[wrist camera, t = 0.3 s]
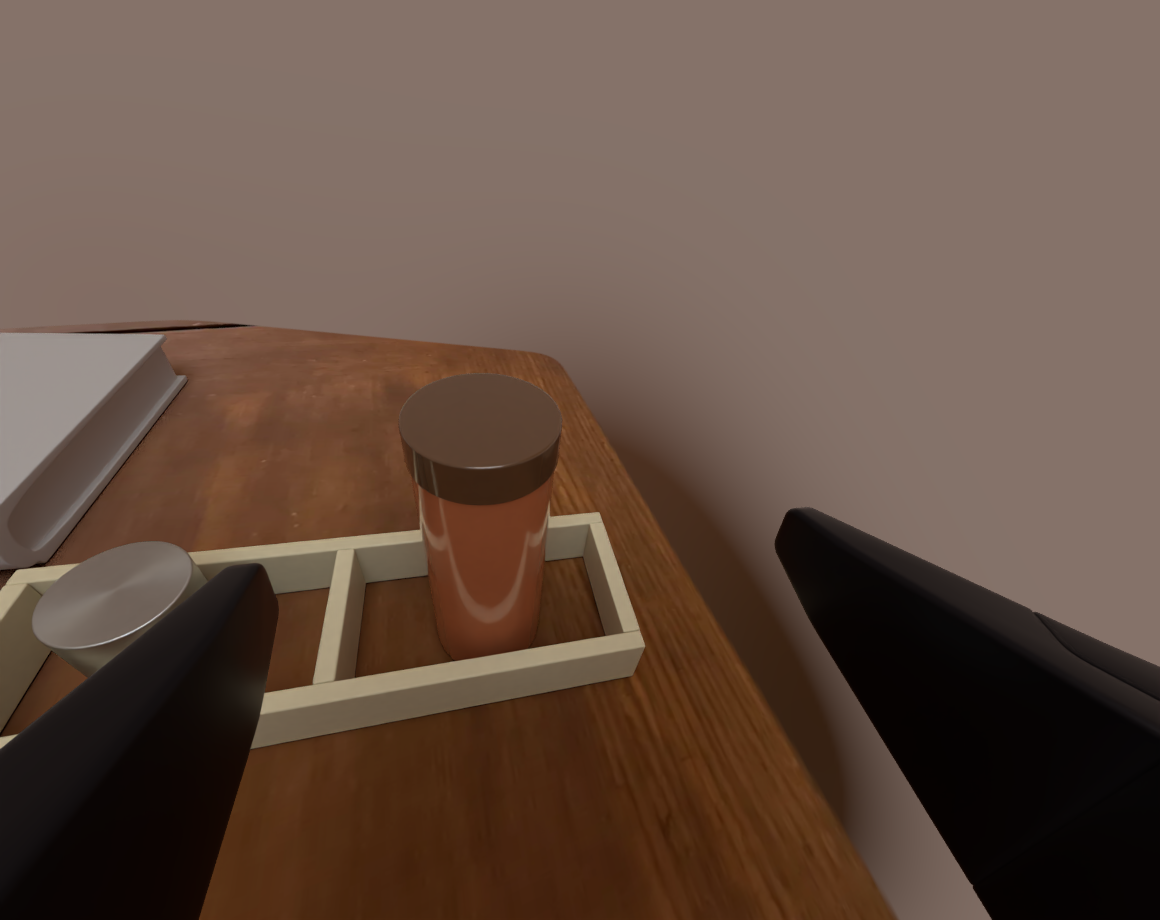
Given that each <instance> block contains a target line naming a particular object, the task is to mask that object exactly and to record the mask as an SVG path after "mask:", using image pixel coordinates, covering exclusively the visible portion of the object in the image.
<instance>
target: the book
mask: <svg viewBox="0 0 1160 920" xmlns="http://www.w3.org/2000/svg"><path fill="white" fill-rule="evenodd" d="M166 340H167V338H166V336H165V335H151V334H64V333H0V570H5V569H18V568H28V567H31V566H33V565H34V564H38V563H45V562H47V561H48V560H49V558H50V557H51V556H52V555H53V553H54V552H55V551H56V550H57V548H58V547H59V546H60V545H61V543H62V542H63V541H64V539H65V538H66V537H67V536H68V534H69V533H70V532H71V530H72V529H73V528H74V527H75V525H76V524H77V523H78V521H79V520H80V519H81V517H82V516H83V515H84V514H85V512H86V511H87V510H88V508H89V507H90V506H91V505H92V503H93V502H94V501H95V499H96V498H97V497H98V496H99V494H100V493H101V492H102V490H103V489H104V488H105V486H106V485H107V484H108V483H109V481H110V480H111V479H112V477H113V476H114V475H115V474H116V472H117V471H118V470H119V468H120V467H121V466H122V465H123V463H124V462H125V461H126V459H127V458H128V457H129V455H130V454H131V453H132V452H133V450H134V449H135V448H136V446H137V445H138V444H139V443H140V441H141V440H142V439H143V437H144V436H145V435H146V434H147V432H148V431H149V430H150V428H151V427H152V426H153V424H154V423H155V422H156V421H157V419H158V418H159V417H160V415H161V414H162V413H163V412H164V410H165V409H166V408H167V406H168V405H169V404H170V403H171V401H172V400H173V399H174V397H175V396H176V395H177V393H178V392H179V391H180V390H181V388H182V387H183V386H184V384H185V383H186V382H187V381H188V379H187V377H186V376H176V375H175V373H174V371H173V369H172V367H171V365H170V363H169V361H168V359H167V357H166V355H165V354H164V352H163V350H162V348H161V345H162V344H163V343H164V342H165V341H166Z"/></svg>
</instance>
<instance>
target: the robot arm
mask: <svg viewBox="0 0 1160 920" xmlns="http://www.w3.org/2000/svg"><path fill="white" fill-rule="evenodd" d="M775 550H776V553H777V555H778V557H779V559H780V561H781V563H782V565H783V567H784V569H785V571H786V574H787V576H788V578H789V580H790V582H791V584H792V586H793V588H794V590H795V592H796V594H797V596H798V598H799V600H800V602H801V604H802V606H803V608H804V610H805V612H806V614H807V616H808V618H809V620H810V621H811V623H812V625H813V627H814V628H815V630H816V632H817V634H818V635H819V637H820V639H821V640H822V642H823V643H824V645H825V647H826V648H827V650H828V652H829V653H830V655H831V656H832V658H833V660H834V661H835V663H836V664H837V666H838V668H839V669H840V671H841V673H842V674H843V676H844V678H845V679H846V681H847V683H848V684H849V686H850V688H851V689H852V691H853V692H854V694H855V696H856V697H857V699H858V701H859V702H860V704H861V705H862V707H863V709H864V710H865V712H866V714H867V715H868V717H869V719H870V720H871V722H872V723H873V725H874V727H875V728H876V730H877V732H878V733H879V735H880V737H881V738H882V740H883V741H884V743H885V745H886V746H887V748H888V750H889V751H890V753H891V754H892V756H893V758H894V759H895V761H896V763H897V764H898V766H899V768H900V769H901V771H902V772H903V774H904V776H905V777H906V779H907V781H908V782H909V784H910V785H911V787H912V789H913V790H914V792H915V794H916V795H917V797H918V798H919V800H920V802H921V804H922V805H923V807H924V808H925V810H926V812H927V813H928V815H929V817H930V818H931V820H932V821H933V823H934V825H935V826H936V828H937V830H938V831H939V833H940V835H941V836H942V838H943V839H944V841H945V843H946V844H947V846H948V848H949V849H950V851H951V853H952V854H953V856H954V857H955V859H956V861H957V862H958V864H959V865H960V867H961V869H962V870H963V872H964V874H965V875H966V877H967V879H968V880H969V882H970V883H971V884H972V885H973V889H974V891H975V892H976V894H977V896H978V897H979V899H980V901H981V902H982V904H983V906H984V907H985V909H986V910H987V912H988V914H989V915H990V917H991V919H992V920H1160V667H1159V666H1157V665H1154V664H1152V663H1150V662H1147V661H1145V660H1142V659H1140V658H1138V657H1136V656H1133V655H1131V654H1129V653H1126V652H1124V651H1122V650H1119V649H1117V648H1115V647H1113V646H1110V645H1108V644H1106V643H1103V642H1101V641H1099V640H1097V639H1094V638H1092V637H1090V636H1088V635H1086V634H1084V633H1081V632H1079V631H1077V630H1075V629H1072V628H1070V627H1068V626H1066V625H1064V624H1061V623H1059V622H1057V621H1055V620H1053V619H1051V618H1049V617H1046V616H1044V615H1042V614H1040V613H1038V612H1032V610H1030V609H1029V608H1027V607H1025V606H1022V605H1020V604H1018V603H1016V602H1014V601H1012V600H1009V599H1007V598H1005V597H1003V596H1001V595H999V594H997V593H994V592H992V591H990V590H988V589H986V588H984V587H982V586H979V585H977V584H975V583H973V582H971V581H969V580H966V579H964V578H962V577H960V576H958V575H956V574H954V573H951V572H949V571H947V570H945V569H943V568H941V567H938V566H936V565H934V564H932V563H930V562H928V561H925V560H923V559H921V558H919V557H917V556H915V555H913V554H910V553H908V552H906V551H904V550H902V549H899V548H898V547H895V546H893V545H891V544H889V543H887V542H885V541H882V540H880V539H878V538H876V537H874V536H872V535H870V534H867V533H865V532H863V531H861V530H859V529H856V528H854V527H852V526H850V525H848V524H846V523H844V522H842V521H839V520H837V519H835V518H833V517H831V516H829V515H826V514H824V513H822V512H820V511H818V510H816V509H813V508H810V507H804V508H794V509H790V510H789V511H788V512H787V513H786V515H785V517H784V519H783V522H782V525H781V527H780V529H779V531H778V534H777V536H776V539H775ZM278 611H279V608H278V601H277V598H276V595H275V593H274V590H273V587H272V585H271V582H270V579H269V577H268V574H267V572H266V569H265V568H264V566H263V565H261V564H259V563H250V564H241V565H232V566H228V567H226V568H225V569H223V570H222V571H221V572H219V573H218V574H217V575H216V576H214V577H213V578H212V579H211V580H209V581H208V582H207V583H206V584H204V585H203V586H202V587H201V588H199V589H198V590H197V591H196V592H194V593H193V594H192V595H191V596H190V597H188V598H187V599H186V600H185V601H183V602H182V603H181V604H180V605H178V606H177V607H176V608H175V609H173V610H172V611H171V612H170V613H168V614H167V615H166V616H165V617H163V618H162V619H161V620H160V621H158V622H157V623H156V624H155V625H153V626H152V627H151V628H150V629H148V630H147V631H146V632H145V633H144V634H142V635H141V636H140V637H139V638H137V639H136V640H135V641H134V642H132V643H131V644H130V645H129V646H127V647H126V648H125V649H124V650H122V651H121V652H120V653H119V654H117V655H116V656H115V657H114V658H112V659H111V660H110V661H109V662H107V663H106V664H105V665H104V666H102V667H101V668H100V669H99V670H98V671H96V672H95V673H94V674H93V675H91V676H90V677H89V678H88V679H86V680H85V681H84V682H83V683H81V684H80V685H79V686H78V687H76V688H75V689H74V690H73V691H71V692H70V693H69V694H68V695H66V696H65V697H64V698H63V699H61V700H60V701H59V702H58V703H56V704H55V705H54V706H53V707H51V708H50V709H49V710H48V711H47V712H45V713H44V714H43V715H42V716H40V717H39V718H38V719H37V720H35V721H34V722H33V723H32V724H30V725H29V726H28V727H27V728H25V729H24V730H23V731H22V732H20V733H19V734H18V735H17V736H15V737H14V738H13V739H12V740H10V741H9V742H8V743H7V744H5V745H4V746H3V747H2V748H1V749H0V920H199V916H200V913H201V910H202V907H203V903H204V900H205V897H206V893H207V890H208V887H209V883H210V880H211V877H212V874H213V870H214V867H215V864H216V860H217V857H218V854H219V851H220V847H221V844H222V841H223V837H224V834H225V831H226V828H227V824H228V821H229V818H230V814H231V811H232V808H233V805H234V801H235V798H236V795H237V791H238V788H239V785H240V782H241V778H242V775H243V772H244V768H245V765H246V762H247V759H248V755H249V752H250V749H251V745H252V742H253V739H254V736H255V732H256V728H257V725H258V721H259V717H260V712H261V708H262V703H263V698H264V692H265V687H266V681H267V675H268V670H269V664H270V659H271V653H272V648H273V642H274V637H275V631H276V626H277V620H278Z"/></svg>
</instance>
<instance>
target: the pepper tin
mask: <svg viewBox="0 0 1160 920" xmlns="http://www.w3.org/2000/svg"><path fill="white" fill-rule="evenodd" d="M207 582H208V580H207V579H206V578H205V576H204V575H203V573H202V572H201V571H200V569H199V568H198V566H197V565H196V564H195V562H194V561H193V560H192V558H191V557H190V555H189V554H188V553H187V552H186V551H185V550H184V549H182V548H181V547H179V546H176V545H174V544H171V543H167V542H159V541H147V542H138V543H132V544H127V545H123V546H120V547H116V548H113V549H110V550H107V551H105V552H102V553H100V554H98V555H95V556H93V557H91V558H89V559H87V560H86V561H84V562H82V563H80V564H79V565H77V566H75V567H74V568H72V569H71V570H69V571H68V572H67V573H65V574H64V575H63V576H61V577H60V578H59V579H58V580H57V581H56V582H55V583H53V584H52V585H51V586H50V588H49V589H48V590H47V591H46V592H45V593H44V594H43V596H42V597H41V598H40V600H39V602H38V603H37V605H36V607H35V609H34V612H33V616H32V630H33V633H34V635H35V636H36V638H37V639H38V640H39V641H40V642H41V643H43V644H44V645H45V646H47V647H48V648H49V649H50V650H52V651H53V652H54V653H56V654H57V655H58V656H60V657H61V658H62V659H64V660H65V661H66V662H68V663H69V664H70V665H72V666H73V667H74V668H76V669H77V670H78V671H80V672H81V673H82V674H84V675H85V676H86V677H88V678H89V677H90V676H91V675H93V674H94V673H95V672H96V671H98V670H99V669H100V668H101V667H102V666H104V665H105V664H106V663H107V662H109V661H110V660H111V659H112V658H114V657H115V656H116V655H117V654H119V653H120V652H121V651H122V650H124V649H125V648H126V647H127V646H129V645H130V644H131V643H132V642H134V641H135V640H136V639H137V638H139V637H140V636H141V635H142V634H144V633H145V632H146V631H147V630H148V629H150V628H151V627H152V626H153V625H155V624H156V623H157V622H158V621H160V620H161V619H162V618H163V617H165V616H166V615H167V614H168V613H170V612H171V611H172V610H173V609H175V608H176V607H177V606H178V605H180V604H181V603H182V602H183V601H185V600H186V599H187V598H188V597H190V596H191V595H192V594H193V593H194V592H196V591H197V590H198V589H199V588H201V587H202V586H203V585H204V584H206V583H207Z"/></svg>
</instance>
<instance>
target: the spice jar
mask: <svg viewBox="0 0 1160 920" xmlns="http://www.w3.org/2000/svg"><path fill="white" fill-rule="evenodd" d="M399 431H400V436H401V442H402V448H403V453H404V459H405V463H406V467H407V470H408V472H409V474H410V475H411V480H412V486H413V491H414V497H415V503H416V509H417V514H418V520H419V526H420V531H421V537H422V543H423V549H424V554H425V560H426V566H427V572H428V577H429V583H430V589H431V595H432V600H433V606H434V612H435V618H436V623H437V629H438V635H439V639H440V642H441V644H442V647H443V648H444V650H445V651H446V653H447V654H448V655H449V656H450V657H451V658H452V659H453V660H455V661H460V660H466V659H472V658H478V657H484V656H490V655H496V654H501V653H507V652H513V651H519V650H525V649H528V648H529V647H530V645H531V644H532V642H533V640H534V638H535V636H536V633H537V629H538V622H539V612H540V603H541V593H542V584H543V574H544V565H545V555H546V545H547V536H548V526H549V517H550V507H551V498H552V488H553V478H554V470H555V468H556V466H557V463H558V458H559V449H560V440H561V431H562V416H561V412H560V410H559V408H558V406H557V404H556V403H555V401H554V400H553V399H552V398H551V397H550V396H549V395H548V394H547V393H546V392H544V391H543V390H542V389H540V388H538V387H537V386H535V385H533V384H531V383H529V382H526V381H524V380H521V379H518V378H514V377H510V376H506V375H499V374H489V373H473V374H462V375H456V376H451V377H447V378H444V379H440V380H438V381H435V382H432V383H430V384H428V385H426V386H424V387H423V388H421V389H419V390H418V391H417V392H415V393H414V394H413V395H412V396H411V397H410V398H409V399H408V400H407V401H406V403H405V404H404V405H403V407H402V410H401V412H400V415H399Z"/></svg>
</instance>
